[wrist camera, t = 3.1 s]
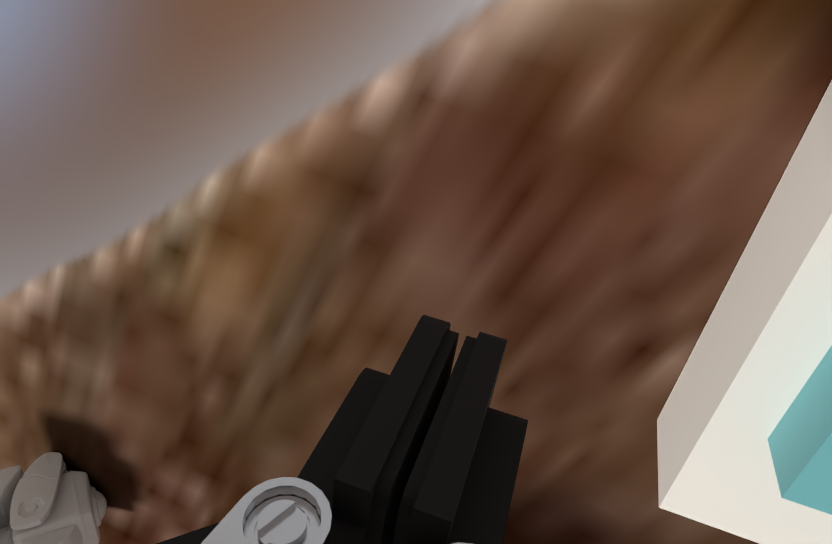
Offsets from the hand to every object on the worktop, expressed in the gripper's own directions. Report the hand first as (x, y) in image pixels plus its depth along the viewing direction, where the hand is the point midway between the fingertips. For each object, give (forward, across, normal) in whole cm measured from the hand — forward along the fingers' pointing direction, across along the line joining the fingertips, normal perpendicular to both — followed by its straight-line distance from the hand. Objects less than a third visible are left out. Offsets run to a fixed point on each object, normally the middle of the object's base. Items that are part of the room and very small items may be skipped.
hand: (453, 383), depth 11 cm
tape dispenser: (+10, +26, +30) cm, 40 cm away
